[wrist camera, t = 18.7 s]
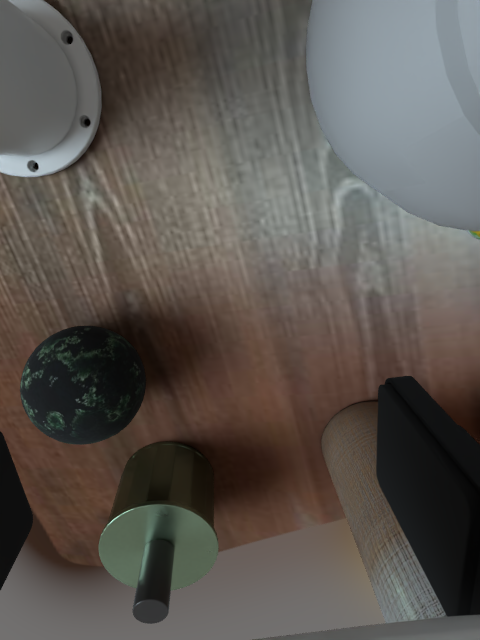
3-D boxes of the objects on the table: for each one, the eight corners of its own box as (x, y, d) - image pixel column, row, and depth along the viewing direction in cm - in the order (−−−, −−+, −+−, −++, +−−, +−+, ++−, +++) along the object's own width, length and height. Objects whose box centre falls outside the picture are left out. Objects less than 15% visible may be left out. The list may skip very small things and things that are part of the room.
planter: (311, 470, 46) (435, 857, 20) (331, 394, 43) (512, 745, 17) (393, 477, 47) (609, 853, 22) (419, 404, 44) (714, 747, 18)
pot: (111, 498, 46) (89, 568, 38) (141, 429, 43) (124, 489, 35) (193, 522, 48) (189, 592, 40) (227, 457, 45) (230, 520, 37)
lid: (86, 564, 39) (62, 640, 33) (123, 480, 36) (104, 547, 29) (192, 591, 41) (188, 667, 35) (236, 514, 38) (241, 582, 32)
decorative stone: (36, 383, 40) (-17, 449, 31) (63, 294, 37) (13, 337, 28) (134, 414, 42) (111, 485, 33) (167, 331, 39) (152, 384, 30)
